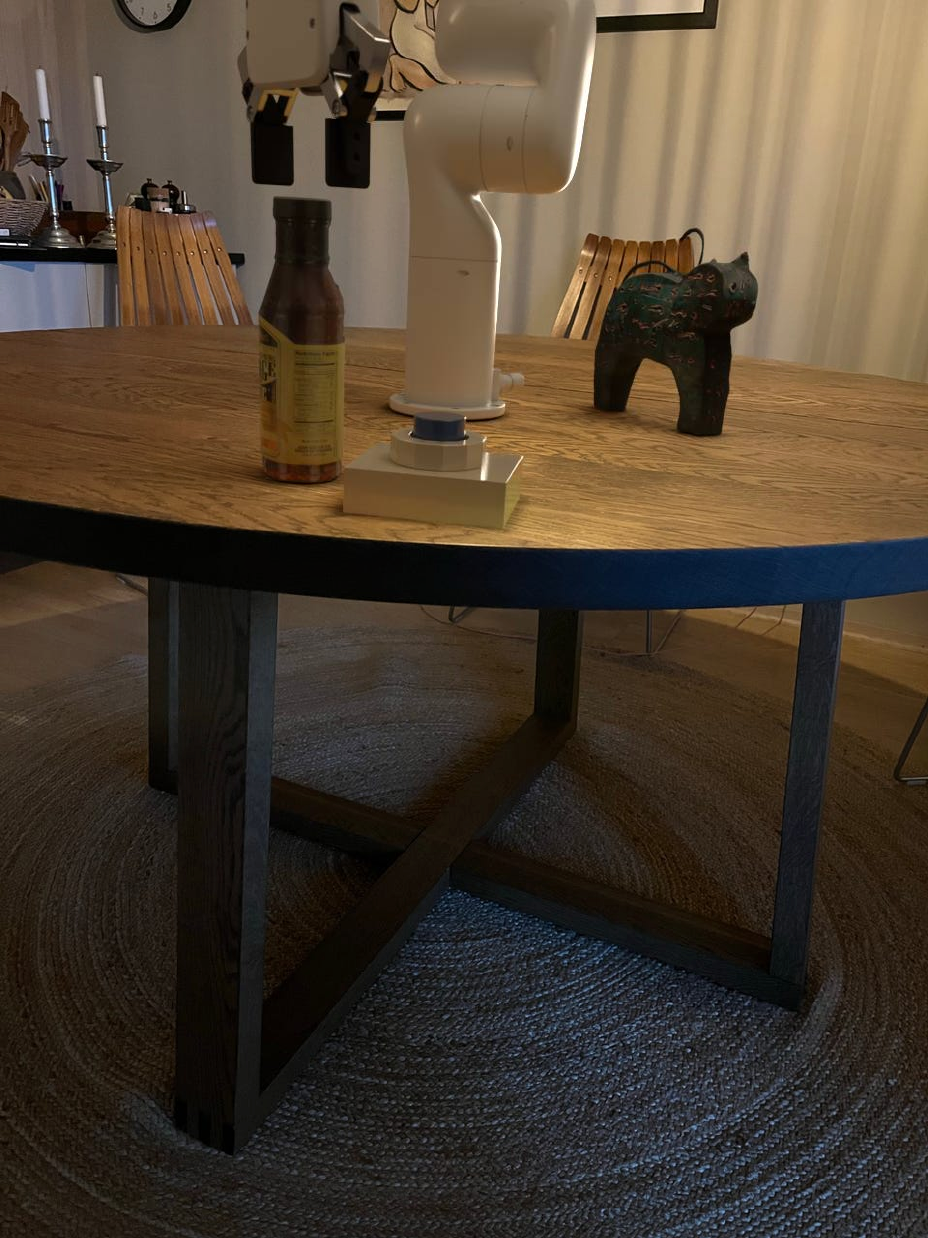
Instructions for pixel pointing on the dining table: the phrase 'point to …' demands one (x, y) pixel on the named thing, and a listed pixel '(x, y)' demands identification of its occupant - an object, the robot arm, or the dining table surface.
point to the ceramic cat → (676, 335)
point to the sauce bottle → (302, 349)
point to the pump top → (439, 426)
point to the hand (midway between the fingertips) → (308, 185)
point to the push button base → (434, 481)
